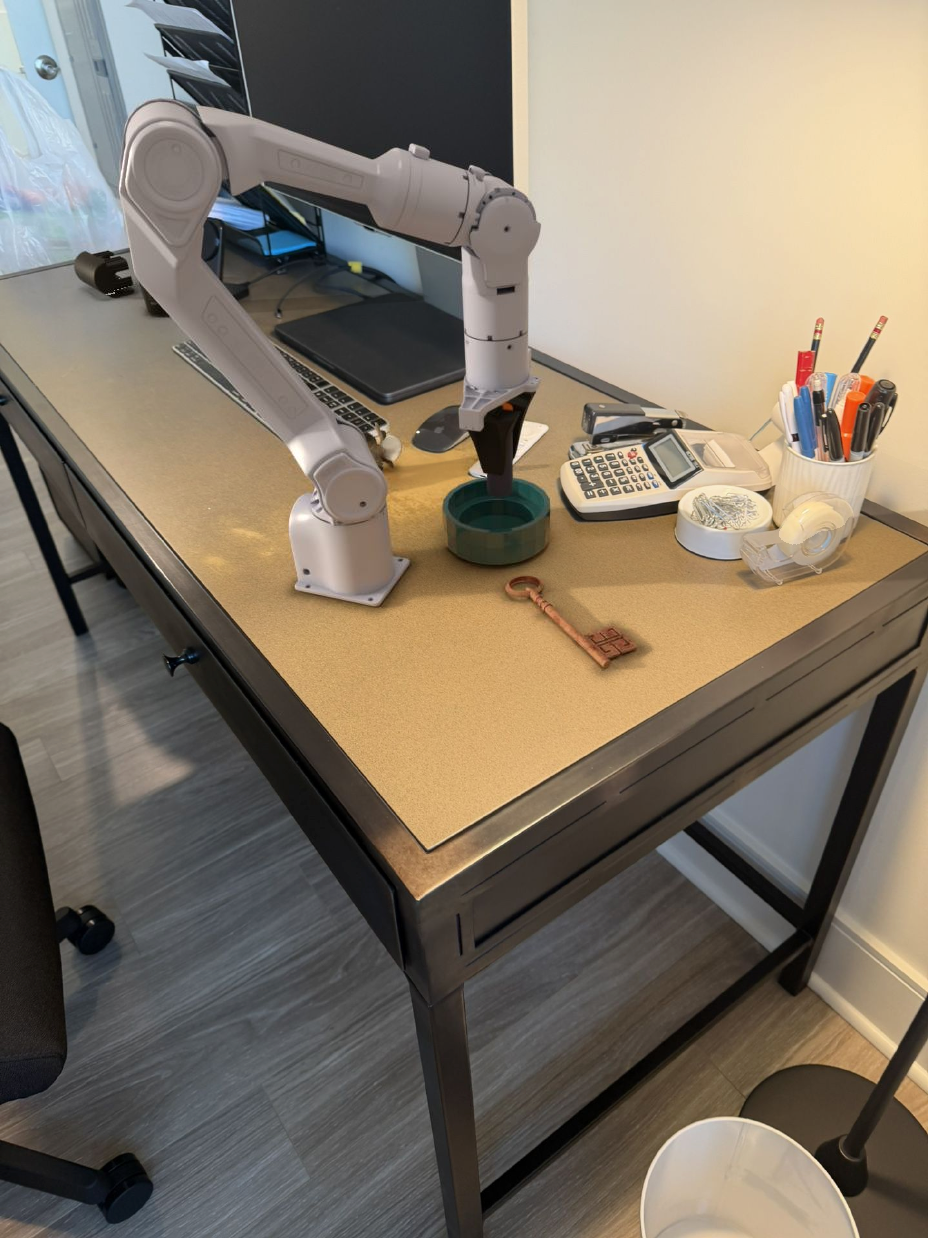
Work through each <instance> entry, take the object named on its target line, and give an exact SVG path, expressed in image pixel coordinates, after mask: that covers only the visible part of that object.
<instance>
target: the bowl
mask: <svg viewBox="0 0 928 1238" xmlns="http://www.w3.org/2000/svg"><path fill="white" fill-rule="evenodd" d="M441 509H442V510H441V511H442V525H443V540H444V542H445V543H446V546H447V548H448V550H450V551H451V552H452V553H453V554H455V556H457V557H459V558H461V559H463V560H466V561H468V562H471V563H477V564H480V565H481V564H482V565H487V566H490V565H491V566H493V565H494V566H496V565H497V566H498V565H499V566H502V565H511V564H515V563H520V562H523V561H525V560H527V559H530V558H532V557H534V556H536V555H537V554H538V553H540V552H541V551H542V550H544V548H546V546H547V544H548V542H549V541H550V538H551V537H550V534H551V498H550V496H549V495H548V493H546V491H545V490H544V489H543V488H542V487H540V486H538V485H537V484H536V483H533V482H531V481H529V480H527V479H522V478H517V477H513V492H512V494H510V495H509V496H506V497H493V496H491V495H489V494H488V492H487V476H486V477H485V476H484V477H480V478H474V479H470V480H468V481H466V482H463V483H460V484H458V485H457V486H456V487H454V488H452V489H451V490H450V491H449V492H448V493H447V494H446V495H445V497H444V498H443V501H442V507H441Z"/></svg>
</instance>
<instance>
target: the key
mask: <svg viewBox="0 0 928 1238" xmlns="http://www.w3.org/2000/svg"><path fill="white" fill-rule="evenodd" d="M520 582H530V583H534V584H535V585H537V586H538V587H536V588H534V589H533V588H531V587H528V586H527V587H525V590H526V591H520V590H519V591H518V590H515V589H513V588H511V586H512V585H514V584H517V583H520ZM543 588H544V584H543V582H542V581H541V579H540V578H538V577H535V576H531V575H521V576H520V575H519V576H516V577H513V578H511V579H510V580H509V581H507V583H506V584H505V590H506V592H507V594H509V595H511V596H513V597H516V598H517V597H518V598H528V597H530V598H531V599H532V600H533V603H535V604H537V605H538V607H539V608H540V609H542V611H543V612H544V613H546V615H548V616H549V617H550V618H551V619H553V621H554V622H555V623H556V624H558V625H559V626H560V628H562V629H563V630H564V631H565V632H566V633H567V634H568V635H569V636H570V637H571V638H572V639H573V640H574V641H575V642H576V643H578V644H579V645H580V646H581V648H583V649H584V650H585V651H586V652H587V653H588V654H589V655H590V656H591V657H592V658H593V659H594V660H595V661H596V662H597V663H598V664H599V665H601V667H603V668H604V669H606V668H608V667H610V666H611V664H612V661H611V660H610V659H612V658H615V657H617V656H620V655H622V654H626V653H628V652H631V651H635V650H636V649H638V645H636V644H635V643H634V642H633V641H632V640H631V639H630V638H629V637H627V636H626V635H625V634H624V633H623V632H621V630H619V628H617V627H616V626H615V625H614V624H613V625H609V626H606V627H603V628H601V629H598V631H597V630H595V631H592V632H588V633H586V634H582V633H581V632H580V631H579V630H578V629H577V628H576V627H575V626H574V625H572V623H571V622H569V621H568V620H567V618H565V617H564V616H563V615H562V614H561V613H560V612H559V611H558V610H557V609H556V608H554V606H553V605H552V604H551V603H550V602H548V601H547V599H545V598H544V597H543V596H542V595H541V594H539V593H540V592H541V591H542V589H543Z"/></svg>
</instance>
